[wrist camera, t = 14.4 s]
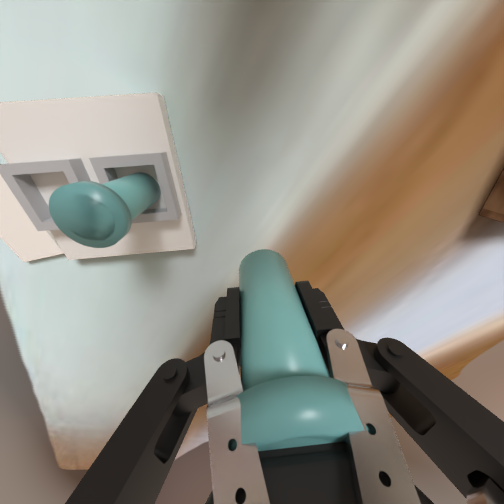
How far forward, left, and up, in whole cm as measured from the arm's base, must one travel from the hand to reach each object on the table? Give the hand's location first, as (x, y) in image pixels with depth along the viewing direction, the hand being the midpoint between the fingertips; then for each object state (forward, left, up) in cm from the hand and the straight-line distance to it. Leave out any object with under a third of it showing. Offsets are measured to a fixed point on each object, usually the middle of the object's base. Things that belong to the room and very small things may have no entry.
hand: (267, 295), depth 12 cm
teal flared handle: (-4, -12, -15) cm, 20 cm away
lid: (-2, -30, -17) cm, 35 cm away
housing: (-4, -17, -17) cm, 24 cm away
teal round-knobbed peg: (0, 0, -3) cm, 3 cm away
